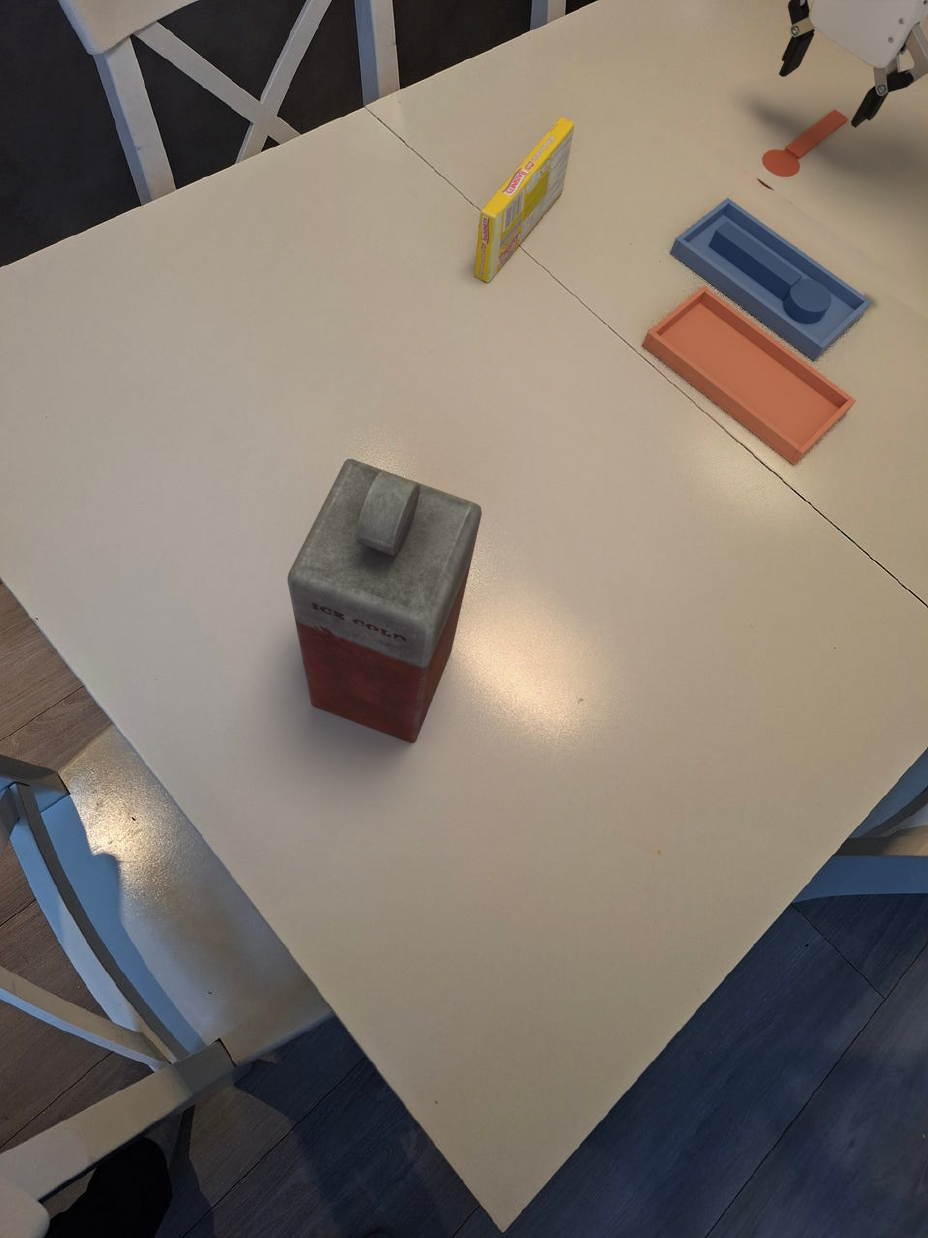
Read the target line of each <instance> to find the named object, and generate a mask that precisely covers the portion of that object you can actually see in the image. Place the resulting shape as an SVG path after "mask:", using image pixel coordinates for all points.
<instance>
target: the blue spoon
mask: <svg viewBox="0 0 928 1238" xmlns="http://www.w3.org/2000/svg"><path fill="white" fill-rule="evenodd" d="M709 247H710V248H712V249H713V250H714V251H716V252H717V253H719V254H720V255H721V256H723V257H724V258H725V259H727V260H728V261H729V262H731V263H732V264H733V265H735V266H736V267H737V268H739V269H740V270H742V271H743V272H744V273H746V274H747V275H748V276H750V277H751V278H752V279H754V280H755V281H756V282H758V283H759V284H760V285H762V286H763V287H764V288H766V289H767V290H769V291H770V292H771V293H773V294H774V295H775V296H777V297H778V298H779V299H781V300H782V301H783V307H784V310H785V312H786V313H787V314H788V315H789V316H790V317H791V318H792V319H794V320H795V321H797V322H800V323H804V324H813V323H816V322H818V321H820V320H821V319H822V317H823V316H824V314H825V313H826V311H827V310H828V308H829V307H830V305H831V302H832V297H831V294H830V292H829V290H828V289H827V288H826V287H825V286H824V285H823V284H821V283H819V282H817V281H815V280H811V279H801V278H802V275H800V274H799V273H798V272H796V271H795V270H793V269H792V268H791V267H789V266H788V265H787V264H785V263H784V262H782V261H781V260H780V259H778V258H777V257H776V256H774V255H773V254H771V253H770V252H769V251H767V250H766V249H765V248H763V247H762V246H760V245H759V244H758V243H756V242H755V241H754V240H752V239H751V238H749V237H748V236H747V235H745V234H744V233H743V232H741V231H740V230H738V229H737V228H736V227H734V226H733V225H732V224H730V223H729V222H727V221H726V222H725V223H724V224H723V225H721V226H720V227H719V228H718V229H716V231H715V233H714V235H713V237H712V240H711V242H710V244H709ZM800 279H801V280H800Z"/></svg>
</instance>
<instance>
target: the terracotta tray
mask: <svg viewBox="0 0 928 1238" xmlns="http://www.w3.org/2000/svg"><path fill="white" fill-rule="evenodd" d="M641 346H642V347H643V348H644V349H646V350H647V351H649V352H650V353H651V354H652V355H653V356H655V357H656V358H657V359H659V360H660V361H661V362H662V363H663V364H665V365H666V366H667V367H668V368H670V370H672V371H673V372H675V373H676V374H677V375H679V376H680V377H681V378H683V379H684V380H685V381H687V382H688V383H689V384H690V385H692V386H693V387H694V388H695V389H697V391H699V392H700V393H702V395H705V397H707V398H708V399H709V400H710V401H712V402H713V403H714V404H715V405H717V406H718V407H719V408H720V409H722V410H723V411H724V412H725V413H727V414H728V415H730V416H731V417H732V418H733V419H735V420H736V421H737V422H738V423H740V424H741V425H742V426H743V427H745V428H746V429H747V430H748V431H750V432H751V433H752V434H754V435H755V436H756V437H757V438H758V439H760V440H761V441H762V442H764V443H765V444H766V445H767V446H769V447H770V448H771V449H772V450H774V451H775V452H777V453H778V454H779V456H782V457H783V458H784V459H785V460H787V461H788V462H789V463H790V464H791V465H793V466H795V465H796V464H797V463H798V462H799V461H800V460H801V459H803V457H805V455H806V454H807V453H808V452H809V451H810V450H811V449H812V448H814V446H815V445H817V443H818V442H819V441H820V440H822V438H823V437H824V436H825V435H826V434H827V433H828V432H830V430H831V429H833V427H834V426H835V425H836V424H837V423H838V422H840V420H841V419H842V418H843V417H844V416H845V415H846V414H847V413H848V412H849V410H850V409H851V408H852V407H853V405H854V404H855V403H856V402H857V400H856V399H855V398H854V397H853V396H851V395H850V394H849V393H847V392H846V391H844V390H843V389H842V388H840V387H839V386H838V385H837V384H835V383H834V382H832V381H831V380H830V379H828V378H827V377H826V376H825V375H824V374H822V373H820V372H819V371H818V370H817V369H815V368H814V367H813V366H811V365H810V364H808V362H806V361H804V360H803V359H802V358H801V357H800V356H798V355H797V354H796V353H794V352H793V351H792V350H790V349H789V348H787V347H786V346H785V345H783V344H782V343H781V342H779V341H778V340H776V338H774V337H773V336H771V334H769V333H768V332H766V331H765V330H764V329H762V328H761V327H760V326H758V325H757V324H756V323H754V322H753V321H751V320H750V319H749V318H747V316H745V315H744V314H742V313H741V312H740V311H739V310H737V309H736V308H734V307H733V306H732V305H730V304H729V303H728V302H726V301H725V300H724V299H722V298H721V297H720V296H719V295H717V294H716V293H714V292H713V291H712V290H710V289H709V288H708V287H706V285H702V286H701V287H699V289H697V290H695V292H694V293H693V294H691V295H690V296H689V297H688V298H686V299H685V300H684V301H683V302H682V303H680V304H679V305H678V306H677V307H675V309H673V310H672V311H670V313H668V314H667V315H666V316H665V317H663V318H662V319H661V320H660V321H659V322H657V323H656V324H655V325H654V326H653V327H652V328H650V329H649V330H648V331H647V332H646V335H645V337H644V340H643V342H642V344H641Z"/></svg>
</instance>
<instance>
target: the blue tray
mask: <svg viewBox="0 0 928 1238" xmlns="http://www.w3.org/2000/svg"><path fill="white" fill-rule="evenodd" d="M726 221H727V222H729V223H730V224H732V225H733V226H734V227H736V228H737V229H738V230H740V231H741V232H743V233H744V234H745V235H747V236H748V237H749V238H751V239H752V240H754V241H755V242H756V243H758V244H759V245H760V246H762V247H763V248H765V249H766V250H767V251H769V252H770V253H771V254H773V255H774V256H776V257H777V258H778V259H780V260H781V261H782V262H784V263H785V264H787V265H788V266H789V267H791V268H792V269H793V270H795V271H796V272H798V273H799V274H800V275H802V278H801V279H811V280H815V281H817V282H819V283H821V284H823V285H824V286H825V287H826V288H827V289H828V290H829V292H830V294H831V297H832V302H831V305H830V307H829V308H828V310H827V311H826V313H825V314H824V316H823V317H822V319H821V320H820V321H818V322H816V323H813V324H804V323H800V322H797V321H795V320H794V319H792V318H791V317H790V316H789V315H788V314H787V313H786V312H785V310H784V307H783V301H782V300H781V299H779V298H778V297H777V296H775V295H774V294H773V293H771V292H770V291H769V290H767V289H766V288H764V287H763V286H762V285H760V284H759V283H758V282H756V281H755V280H754V279H752V278H751V277H750V276H748V275H747V274H746V273H744V272H743V271H742V270H740V269H739V268H737V267H736V266H735V265H733V264H732V263H731V262H729V261H728V260H727V259H725V258H724V257H723V256H721V255H720V254H719V253H717V252H716V251H714V250H713V249H712V248H710V247H709V244H710V242H711V240H712V237H713V235H714V233H715V231H716V229H718V228H719V227H720V226H721V225H723V224H724V223H725V222H726ZM669 253H670V254H671V255H672V256H673V257H674V258H675V259H677V260H678V261H680V262H681V263H683V265H685V266H686V267H688V268H689V269H690V270H692V271H693V272H694V273H696V275H699V276H700V277H701V278H702V279H704V280H705V281H706V282H708V283H709V284H710V285H712V286H713V287H715V288H716V289H717V290H719V292H721V293H722V294H724V295H725V296H726V297H727V298H729V299H730V300H732V301H733V302H734V303H736V304H737V305H738V306H740V307H741V308H743V309H744V310H745V311H746V312H747V313H749V314H750V315H752V316H753V317H754V318H755V319H757V320H758V321H760V322H761V323H762V324H764V326H767V327H768V328H769V329H770V330H771V331H773V332H774V333H776V334H777V335H778V336H779V337H781V338H782V339H784V340H785V341H787V343H789V344H790V345H792V346H793V347H794V348H795V349H797V350H798V351H799V352H801V353H802V354H803V355H805V356H806V357H807V358H809V359H810V360H812V361H813V362H816V360H817V359H818V358H819V357H821V356H822V355H823V354H824V353H825V352H826V351H827V350H828V349H829V348H830V347H831V346H832V345H833V344H834V343H835V342H836V341H838V339H840V338H841V337H842V336H843V335H844V334H845V333H846V332H847V331H848V330H849V329H850V328H852V326H853V325H854V324H855V323H856V322H858V321H859V320H860V318H862V317H863V316H864V314H865V313H866V312H867V310H868V309H869V307H871V304H873V301H872V300H870V299H869V298H867V297H866V296H865V295H864V294H863V293H861V292H859V291H858V290H856V288H854V287H852V286H851V285H849V284H848V283H846V282H845V281H844V280H843V279H841V278H840V277H839V276H837V275H836V274H834V273H833V272H831V271H830V270H829V269H827V268H826V267H824V266H823V265H822V264H820V263H819V262H818V261H816V260H814V258H812V257H811V256H809V255H808V254H807V253H805V252H803V250H801V249H799V248H798V247H797V246H796V245H794V244H792V242H790V241H788V240H787V239H786V238H784V237H783V236H781V235H780V234H779V233H778V232H776V231H775V230H773V229H772V228H771V227H769V226H767V225H766V224H764V222H762V220H761V221H760V220H759V219H758V218H757V217H755V216H754V215H752V214H751V213H750V212H748V211H747V210H746V209H745V208H743V207H741V206H740V205H739V204H737V203H736V202H734V201H733V200H731V199H730V198H729V197H727V198H725V199H724V200H723V201H722V202H720V203H719V204H717V205H716V206H715V207H714V208H713V209H712V210H710V211H709V212H707V213H706V214H705V215H703V216H702V217H701V218H700V219H698V220H697V221H696V222H695V223H693V224H691V226H690V227H688V228H687V229H685V230H684V231H683V232H681V234H679V235H678V236H676V237H675V239H674V242H673V244H672V246H671V249H670V251H669ZM801 279H800V280H801Z"/></svg>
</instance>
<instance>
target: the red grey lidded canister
mask: <svg viewBox="0 0 928 1238" xmlns="http://www.w3.org/2000/svg"><path fill="white" fill-rule="evenodd" d="M482 512H483V511H482V507H481V505H479V504H478V503H476V502H474V501H470V500H468V499H465V498H462V497H459V496H457V495H453V494H451V493H448V492H445V491H443V490H440V489H437V488H435V487H432V486H430V485H429V486H428V485H426V484H424V483H421V482H418V481H415V480H412V479H409V478H407V477H404V476H402V475H398V474H396V473H392V472H389V471H387V470H384V469H381V468H378V467H376V466H373V465H370V464H368V463H365V462H362V461H359V460H356V459H353V458H347V459H346V460H345V461H344V462H343V464H342V466H341V468H340V470H339V472H338V474H337V476H336V478H335V480H334V482H333V484H332V486H331V488H330V490H329V492H328V494H327V495H326V497H325V499H324V502H323V504H322V506H321V508H320V510H319V512H318V513H317V516H316V518H315V520H314V522H313V524H312V526H311V528H310V529H309V531H308V534H307V535H306V537H305V540H304V541H303V543H302V546H301V547H300V550H299V552H298V554H297V555H296V557H295V559H294V562H293V564H292V566H291V567H290V570H289V571H288V574H287V586H288V591H289V597H290V603H291V607H292V611H293V616H294V617H293V618H294V621H295V627H296V632H297V636H298V637H297V638H298V642H299V648H300V652H301V653H300V654H301V658H302V662H303V668H304V673H305V678H306V684H307V687H308V688H307V689H308V694H309V699H310V704H311V706H312V707H313V708H315V709H318V710H321V711H324V712H327V713H329V714H332V715H335V716H337V717H339V718H342V719H345V720H347V721H351V722H353V723H356V724H358V725H362V726H364V727H366V728H369V729H372V730H375V731H377V732H380V733H382V734H385V735H388V736H390V737H393V738H396V739H398V740H401V741H403V742H406V743H409V744H414V743H416V742H417V740H418V737H419V735H420V732H421V729H422V727H423V724H424V722H425V720H426V717H427V714H428V711H429V709H430V707H431V705H432V702H433V699H434V696H435V694H436V691H437V689H438V686H439V684H440V682H441V679H442V677H443V674H444V671H445V669H446V666H447V663H448V662H449V659H450V656H451V654H452V651H453V647H454V641H455V637H456V633H457V628H458V625H459V624H458V623H459V619H460V615H461V611H462V606H463V601H464V597H465V592H466V588H467V583H468V579H469V573H470V569H471V565H472V561H473V556H474V551H475V546H476V542H477V538H478V533H479V528H480V525H481V520H482V516H483V513H482Z"/></svg>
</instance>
